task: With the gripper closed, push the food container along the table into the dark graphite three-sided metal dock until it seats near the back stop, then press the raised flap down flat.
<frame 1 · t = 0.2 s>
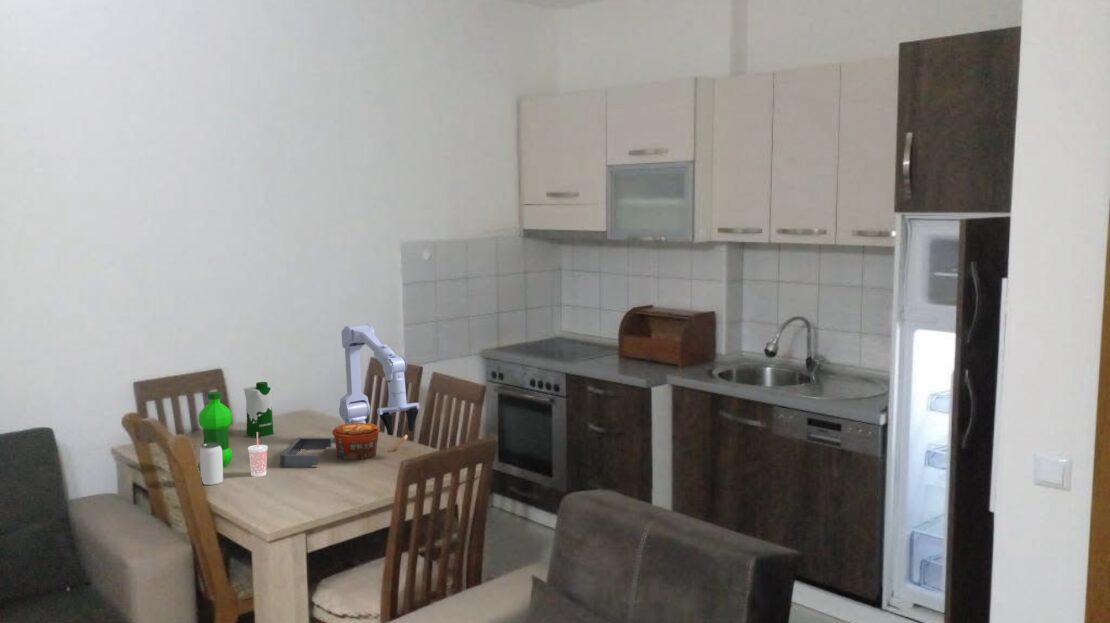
hand: (400, 432, 294), 10 cm above the table, tool pointing down, fingers open, 7 cm apart
latch flap: (397, 443, 307), point 3 cm above the table, hinge at 40.0°
beverage cup: (258, 474, 281), on the table
can: (212, 482, 273), on the table
plastic bottle: (217, 467, 289), on the table
dock: (321, 457, 300), on the table
milk carton: (259, 434, 329), on the table
food container: (356, 458, 300), on the table
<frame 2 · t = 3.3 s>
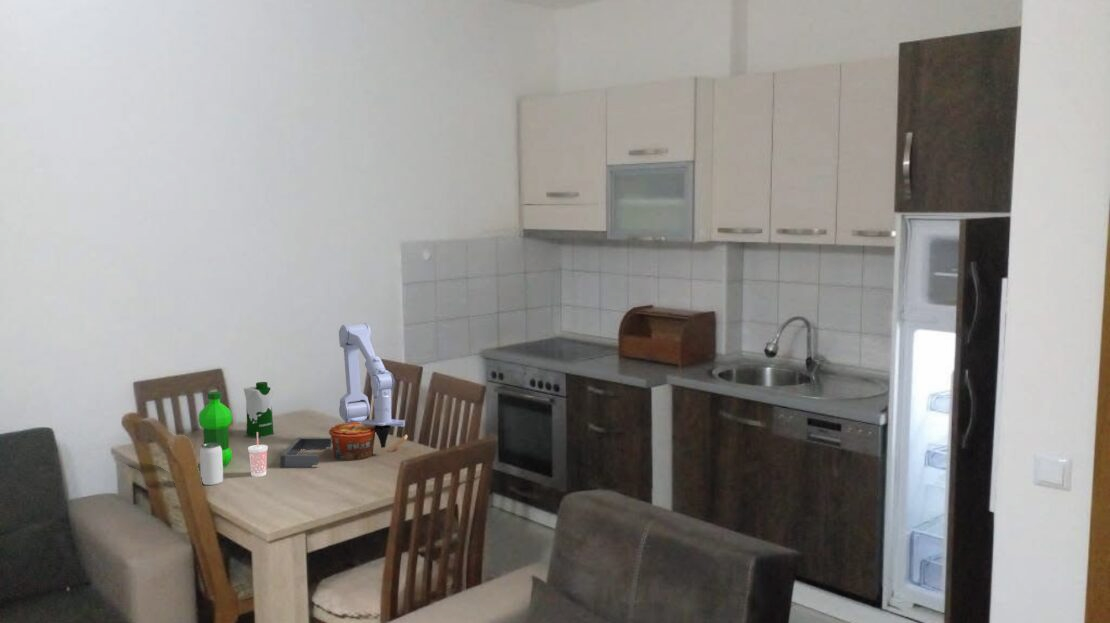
hand: (383, 446, 300), 4 cm above the table, tool pointing down, fingers closed
food container: (353, 458, 300), on the table, touching gripper
everything else where it was.
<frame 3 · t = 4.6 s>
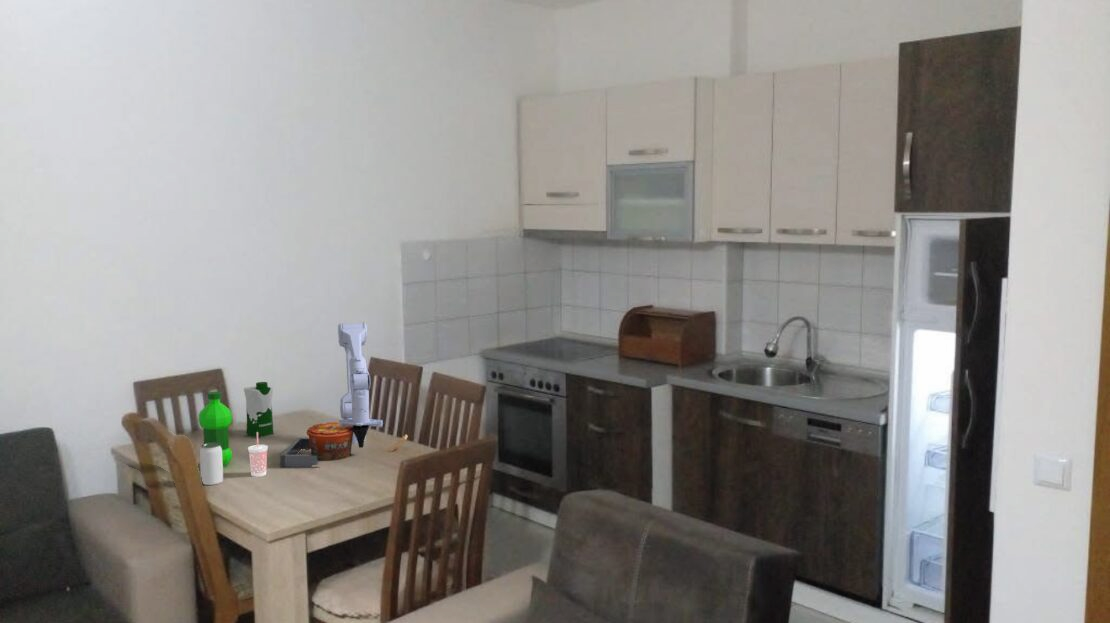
hand: (361, 446, 300), 4 cm above the table, tool pointing down, fingers closed
food container: (331, 458, 300), on the table, touching gripper
everything else where it was.
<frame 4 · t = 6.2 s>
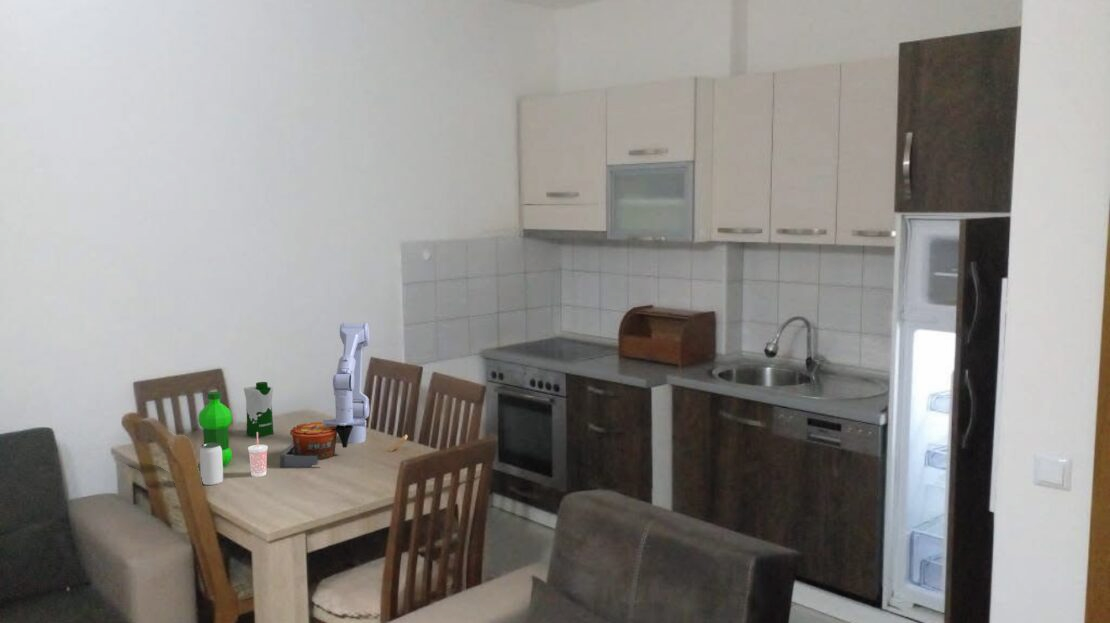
hand: (345, 446, 300), 4 cm above the table, tool pointing down, fingers closed
food container: (315, 458, 300), on the table, touching gripper
everything else where it was.
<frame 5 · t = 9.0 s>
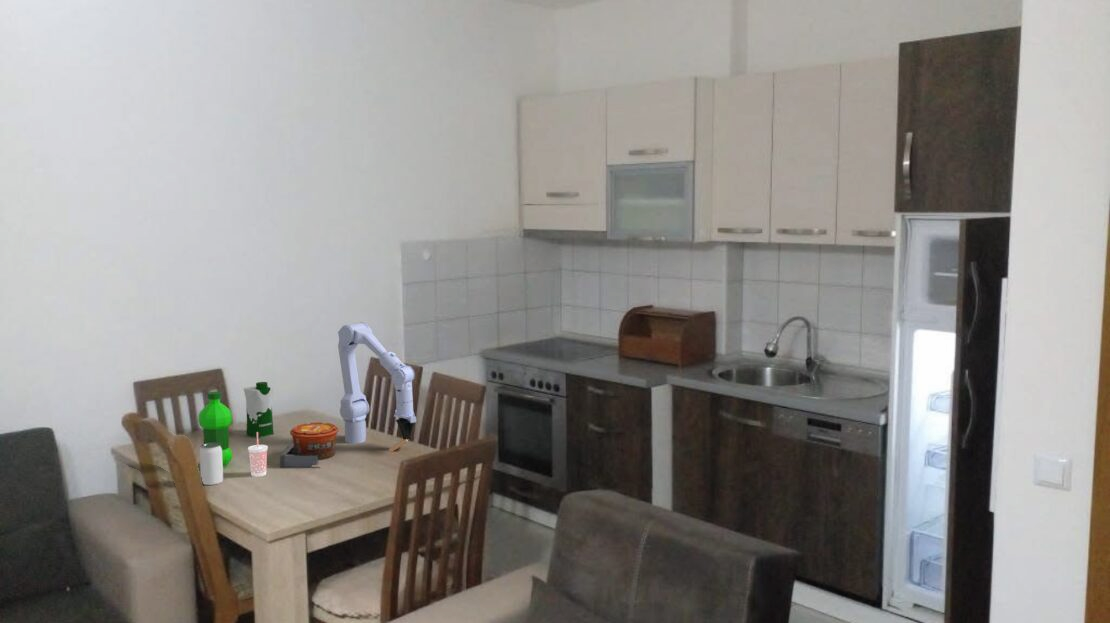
hand: (406, 439, 307), 5 cm above the table, tool pointing down, fingers closed, pressing on latch flap
latch flap: (398, 444, 307), point 3 cm above the table, hinge at 33.2°, touching gripper
food container: (315, 458, 300), on the table
everything else where it was.
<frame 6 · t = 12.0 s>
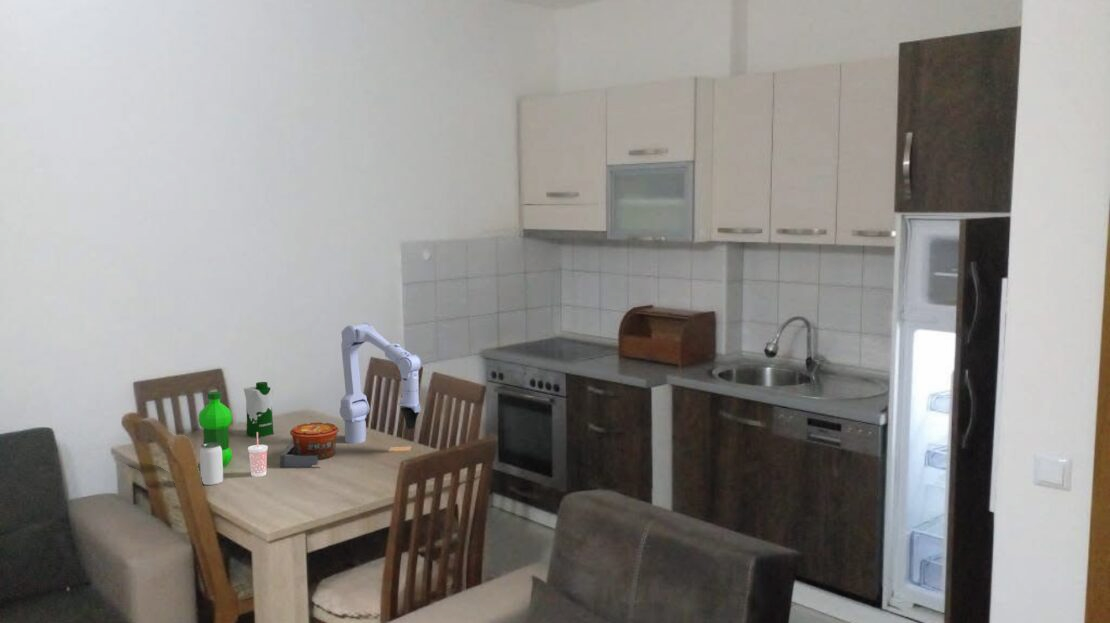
hand: (410, 428, 304), 9 cm above the table, tool pointing down, fingers closed
latch flap: (399, 449, 308), point 1 cm above the table, hinge at 2.6°
everything else where it was.
at the end: food container 1.7 cm off-centre on the dock, point 0.0 cm above the dock's base; food container tilted 0°; latch flap at +3° (first picture: +40°) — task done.
